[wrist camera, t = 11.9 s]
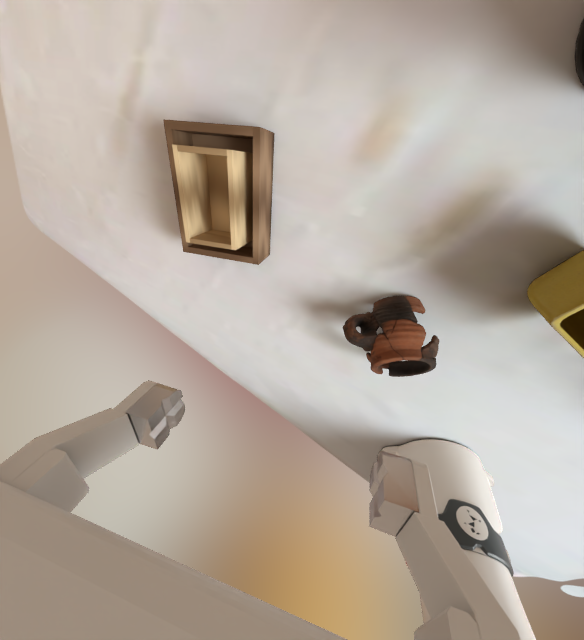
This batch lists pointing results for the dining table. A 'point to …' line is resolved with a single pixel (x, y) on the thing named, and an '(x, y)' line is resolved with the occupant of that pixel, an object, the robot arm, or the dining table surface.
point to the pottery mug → (394, 337)
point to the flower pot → (562, 299)
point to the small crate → (215, 195)
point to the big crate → (262, 150)
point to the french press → (580, 53)
